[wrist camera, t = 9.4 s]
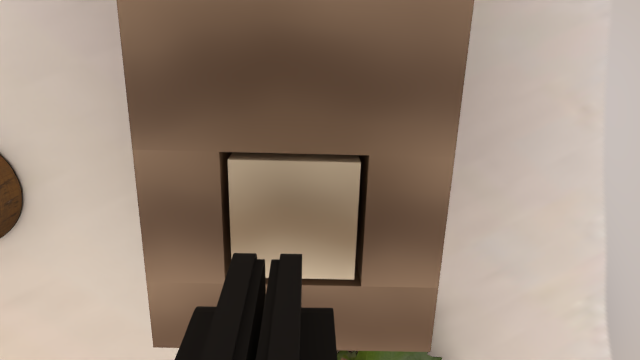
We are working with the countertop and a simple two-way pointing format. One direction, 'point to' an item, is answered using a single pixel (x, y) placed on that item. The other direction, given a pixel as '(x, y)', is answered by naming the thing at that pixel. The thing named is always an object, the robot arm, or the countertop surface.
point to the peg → (296, 209)
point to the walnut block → (297, 143)
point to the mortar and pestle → (8, 198)
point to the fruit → (385, 355)
